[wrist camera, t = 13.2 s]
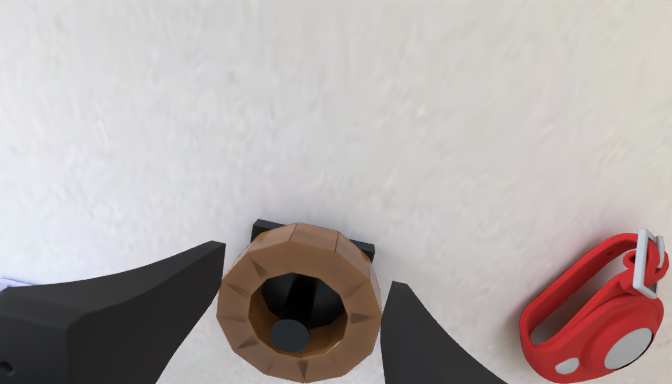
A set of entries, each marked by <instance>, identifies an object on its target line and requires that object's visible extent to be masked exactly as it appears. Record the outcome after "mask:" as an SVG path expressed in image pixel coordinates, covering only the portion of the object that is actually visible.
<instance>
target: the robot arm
mask: <svg viewBox="0 0 672 384" xmlns="http://www.w3.org/2000/svg"><path fill="white" fill-rule="evenodd" d="M225 247H226V244H225V243H220V242H216V241H209V242H206V243H204V244H201V245H199V246H196V247H194V248H191V249H189V250H187V251H184V252H182V253H179V254H177V255H174V256H172V257H169V258H166V259H163V260H160V261H158V262H155V263H152V264H149V265H146V266H143V267H140V268H136V269H132V270H129V271H125V272H121V273H117V274H112V275H107V276H102V277H97V278H92V279H86V280H80V281H73V282H65V283H57V284H46V285H30V284H26V283H21V282H17V281H12V280H8V279H3V278H0V384H156V382H157V380H158V379H159V377H160V375H161V374H162V372H163V370H164V369H165V367H166V366H167V364H168V362H169V361H170V359H171V357H172V356H173V355H174V353H175V352H176V350H177V349H178V347H179V346H180V345H181V343H182V342H183V341H184V339H185V338H186V337H187V335H188V334H189V333H190V331H191V330H192V329H193V327H194V326H195V325H196V323H197V322H198V321H199V320H200V318H201V317H202V315H203V314H204V313H205V311H206V310H207V309H208V307H209V306H210V304H211V303H212V301H213V299H214V298H215V296H216V294H217V292H218V290H219V288H220V287H221V284H222V275H223V266H224V257H225ZM380 342H381V352H382V361H383V369H384V377H385V384H507V383H506V382H504V381H503V380H502V379H500V378H499V377H497V376H496V375H495V374H493V373H492V372H490V371H489V370H488V369H487V368H485V367H484V366H483V365H482V364H480V363H479V362H478V361H477V360H475V359H474V358H473V357H472V356H471V355H469V354H468V353H467V352H466V351H465V350H464V349H463V348H462V347H461V346H460V345H459V344H458V343H456V342H455V341H454V340H453V339H452V338H451V337H450V336H449V335H448V334H447V332H446V331H445V330H444V329H443V328H442V327H441V326H440V325H439V324H438V323H437V321H436V320H435V319H434V318H433V317H432V315H431V314H430V313H429V312H428V311H427V309H426V308H425V307H424V305H423V304H422V303H421V302H420V300H419V299H418V298H417V296H416V295H415V294H414V292H413V291H412V290H411V288H410V287H409V286H408V285H407V284H404V283H400V282H395V281H392V285H391V288H390V291H389V295H388V298H387V301H386V305H385V308H384V311H383V315H382V318H381V332H380Z"/></svg>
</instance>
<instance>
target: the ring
mask: <svg viewBox="0 0 672 384" xmlns="http://www.w3.org/2000/svg"><path fill="white" fill-rule="evenodd" d="M291 272H293V273H298V274H302V275H307V276H311V277H315V278H320V279H321V280H322V281H323V282H325V283H326V284H327V285H328V286H329V287H331V288H332V289H333V290H334V291H336V292H337V293H338V294H339V295H340V296H341V299H342V301H343V304H344V307H345V312H344V313H342V314H341V315H340V316H339V317H338V318H337V319H336V320H335V321H333V322H332V323H331V324H330V325H326V326H322V327H317V328H313V329H309V330H310V341H309V344H308V345H307V347H306V348H305V349H303V350H302V351H300V352H296V353H288V352H284V351H281V350H280V349H278V348H277V347H276V346H275V345H274V344H273V343H272V341H271V339H270V330H271V327H272V325H273V324H274V322H275V321H277V320H278V319H279V318H278V317H277V316H276V315H274V314H273V313H272V312H270V311H269V309H268V307H267V304H266V302H265V300H264V298H263V296H262V293H261V289H262V284H263V283H264V282H265V281H266V280H267V279H268V278H272V277H276V276H280V275H284V274H288V273H291ZM382 315H383V314H382V303H381V293H380V288H379V285H378V282H377V279H376V276H375V273H374V270H373V267H372V264H371V261H370V258H369V257H368V256H367V255H366V254H365V253H364V252H362V251H361V250H360V249H359V248H358V247H357V246H355V245H354V244H353V243H352V242H351V241H349V240H348V239H347V238H346V237H345V236H344V235H342V234H341V233H340V232H338V231H335V230H331V229H326V228H322V227H317V226H313V225H308V224H304V223H294V224H291V225H287V226H283V227H280V228H276V229H273V230H269V231H266V232H262V233H261V234H259V235H258V236H257V237H256V238H255V239H254V240H253V241H252V243H251V244H250V245H249V246H248V247H247V248H246V249H245V250H244V251H243V253H242V254H241V255H240V256H239V257H238V258H237V259H236V261H235V262H234V263H233V265H232V266H231V267H230V269H229V270H228V271H227V273H226V274H225V275H224V277H223V278H222V284H221V287H220V288H219V296H218V305H217V314H216V317H217V320H218V322H219V324H220V326H221V328H222V330H223V332H224V334H225V336H226V338H227V340H228V342H229V344H230V346H231V348H232V350H234V352H235V353H236V354H238V355H239V356H240V357H242V358H243V359H244V360H246V361H247V362H248V363H250V364H251V365H253V366H254V367H255V368H257V369H258V370H259V371H261V372H262V373H263V374H266V375H269V376H273V377H278V378H282V379H286V380H291V381H295V382H300V383H310V382H316V381H321V380H326V379H331V378H336V377H341V376H343V375H345V374H347V373H348V372H349V371H350V370H352V369H353V368H354V367H355V366H356V365H358V364H359V363H360V362H361V361H363V360H364V359H365V358H366V357H367V356H369V355H370V354H371V353H372V352H373V349H374V345H375V342H376V339H377V336H378V332H379V329H380V326H381V318H382Z"/></svg>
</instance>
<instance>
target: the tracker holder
mask: <svg viewBox="0 0 672 384" xmlns="http://www.w3.org/2000/svg"><path fill="white" fill-rule="evenodd" d="M635 248H637V250H633V251H630V252H628V253H627V254H626V255H625V256H624V258H623V264H624V265H625V266H626V267H627V268H629V269H628V270H626V271H624V272H622V273H620V274H618V275H616V276H615V277H613V278H612V279H611V280H610V281H609V282H608V283H607V284H605V285H604V286H603V287H602V288H601V289H600V290H599V291H598V292H597V293H596V294H595V295H594V296H593V297H592V298H591V299H590V300H589V301H588V302H587V303H586V304H585V305H584V306H583V307H582V308H581V309H580V310H579V312H578V313H577V314H576V315H575V316H574V317H573V318H572V319H571V320H570V321H569V322H568V323H567V324H566V325H565V326H564V327H563V328H562V329H561V330H560V331H559V332H558V333H557V334H555V335H554V336H553V337H551V338H550V339H548V340H547V341H545V342H543V343H541V344H538V345H534V344H533V343H532V341H531V340H530V335H531V333H532V331H533V330H534V329H535V328H536V326H538V325H539V324H540V323H541V322H542V321H543V320H544V319H545V318H547V317H548V316H549V315H550V314H551V313H552V312H553V311H554V310H555V309H557V308H558V307H559V306H560V305H561V304H562V303H563V302H564V301H566V300H567V299H568V298H569V297H570V296H571V295H572V294H573V293H575V292H576V291H577V290H578V289H579V288H580V287H581V286H582V285H584V284H585V283H586V282H587V281H588V280H589V279H590V278H592V277H593V276H594V275H595V274H596V273H597V272H598V271H600V270H601V269H602V268H603V267H604V266H605V265H606V264H607V263H609V262H610V261H612V260H613V259H615V258H616V257H618V256H619V255H621V254H622V253H624V252H626V251H628V250H631V249H635ZM664 250H665V246H664V241H663V237H662V236H660V235H658V236H656V237H655V236H654V235H653V234H652V233H650V232H649V231H648V230H647V229H645V228H640V229H639V232H638V234H632V233H623V234H618V235H616V236H613V237H611V238H609V239H607V240H605V241H604V242H602V243H601V244H599V245H598V246H597V247H595V248H594V249H592V250H591V251H590V252H588V253H587V254H586V255H585V256H584V257H582V258H581V259H580V260H579V261H578V262H576V263H575V264H574V265H573V266H572V267H571V268H570V269H568V270H567V271H566V272H565V273H564V274H563V275H562V276H561V277H559V278H558V279H557V280H556V281H555V282H554V283H553V284H552V285H550V286H549V287H548V288H547V289H546V290H545V291H544V292H543V293H541V294H540V295H539V296H538V297H537V298H536V299H535V300H534V301H532V302H531V303H530V304H529V305H528V306H527V307H526V309H525V310H524V312H523V313H522V316H521V318H520V322H519V329H520V337H521V345H522V349H523V353H524V355H525V358H526V360H527V361H528V363H529V364H530V365H531V367H532V368H533V369H534V370H535V371H536V372H537V373H538V374H539V375H540V376H542V377H544V378H545V379H547V380H549V381H552V382H555V383H560V384H568V383H575V382H581V381H586V380H591V379H595V378H599V377H602V376H605V375H607V374H610V373H612V372H614V371H617V370H619V369H622V368H624V367H626V366H628V365H630V364H631V363H633V362H634V361H636V360H637V359H638V358H639V357H641V356H642V355H643V354H644V353H645V351H646V350H647V349H648V348H649V346H650V345H651V343H652V342H653V340H654V337H655V335H656V332H657V330H658V329H659V327H660V324H661V322H662V319H663V314H664V307H663V304H662V302H661V300H660V299H659V298H658V297H657V289H658V281H659V280H660V279H662V278H663V277H664V275H665V274H666V272H667V270H668V268H669V260H668V254H667V253H666V252H665V251H664Z"/></svg>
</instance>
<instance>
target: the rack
mask: <svg viewBox="0 0 672 384" xmlns="http://www.w3.org/2000/svg"><path fill="white" fill-rule="evenodd" d="M283 226H287V225H283V224H278V223H273V222H269V221H264V220H260V219H258V220H257V221H256V222H255V223H254V225H253V229H252V236H251V243H252V241H253V240H254V239H255V238H256V237H257V236H258V235H259V234H261V233H262V232H266V231H269V230H273V229H276V228H280V227H283ZM348 240H349V241H351V242H352V243H353V244H354V245H355V246H357V247H358V248H359V249H360V250H361V251H362V252H364V253H365V254H366V255H367V256H368V257H369V258H370V261H371V264H372V261H373V258H374V254H375V247H374V245H373V244H368V243H364V242H359V241H355V240H350V239H348ZM251 243H250V244H251ZM261 293H262V296H263V298H264V300H265V302H266V304H267V307H268V309H269V311H270V312H272V313H273V314H274V315H276V316H277V317H278V318H279V319H278V320H277V321H275V322H274V324H273V325H272V327H271V330H270V339H271V341H272V343H273V344H274V345H275V346H276V347H277V348H278V349H280V350H281V351H284V352H288V353H296V352H300V351H302V350H303V349H305V348H306V347H307V345H308V344H309V341H310V330H309V329H313V328H317V327H322V326H326V325H330V324H331V323H332V322H333V321H335V320H336V319H337V318H338V317H339V316H340V315H341V314H342V313H344V312H345V307H344V304H343V301H342V299H341V296H340V295H339V294H338V293H337V292H336V291H334V290H333V289H332V288H331V287H329V286H328V285H327V284H326V283H325V282H323V281H322V280H321V279H320V278H315V277H311V276H307V275H302V274H298V273H293V272H291V273H288V274H284V275H280V276H276V277H272V278H268V279H267V280H266V281H265V282H264V283H263V284H262V289H261Z"/></svg>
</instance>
